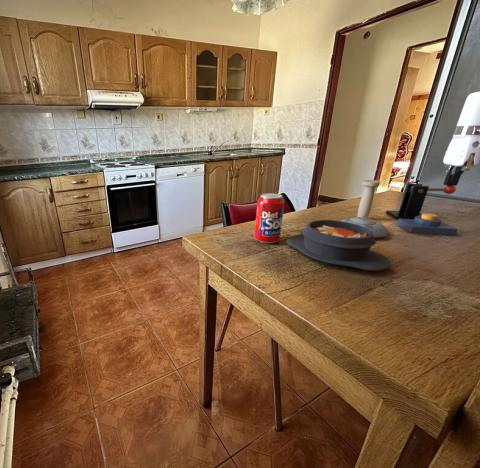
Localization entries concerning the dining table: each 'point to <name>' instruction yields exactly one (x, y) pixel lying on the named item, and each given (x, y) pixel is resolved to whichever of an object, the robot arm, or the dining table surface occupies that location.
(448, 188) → the lever
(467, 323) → the dining table surface
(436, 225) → the button box
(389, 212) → the bracket
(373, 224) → the flying saucer
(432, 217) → the button
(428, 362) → the dining table surface
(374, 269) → the casserole
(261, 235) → the soda can
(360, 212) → the handle
